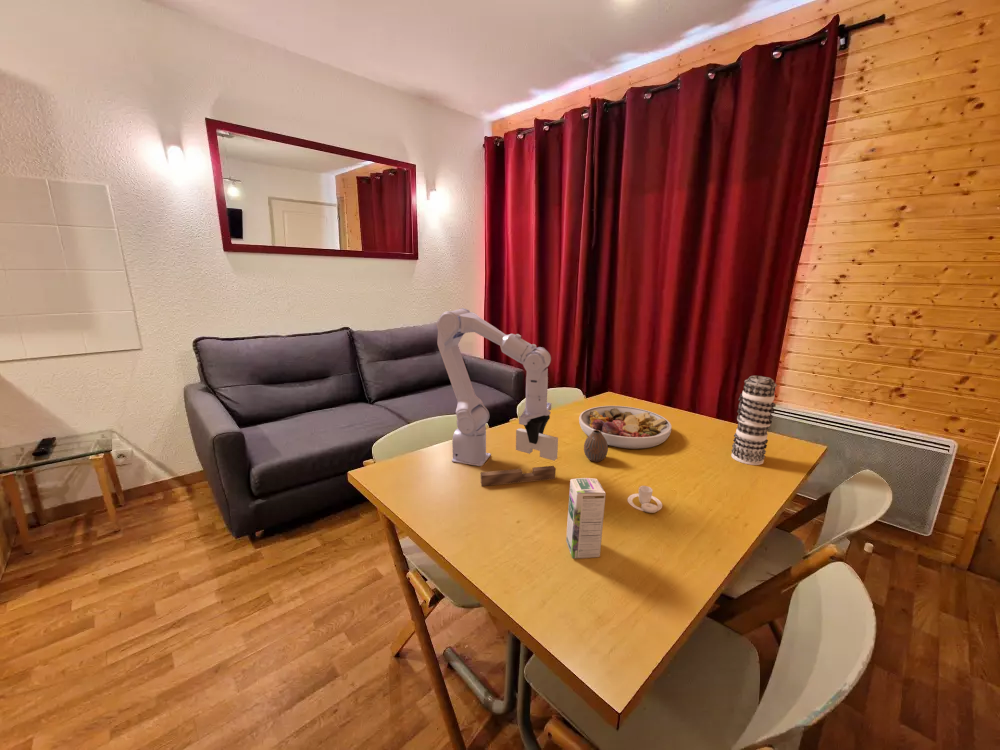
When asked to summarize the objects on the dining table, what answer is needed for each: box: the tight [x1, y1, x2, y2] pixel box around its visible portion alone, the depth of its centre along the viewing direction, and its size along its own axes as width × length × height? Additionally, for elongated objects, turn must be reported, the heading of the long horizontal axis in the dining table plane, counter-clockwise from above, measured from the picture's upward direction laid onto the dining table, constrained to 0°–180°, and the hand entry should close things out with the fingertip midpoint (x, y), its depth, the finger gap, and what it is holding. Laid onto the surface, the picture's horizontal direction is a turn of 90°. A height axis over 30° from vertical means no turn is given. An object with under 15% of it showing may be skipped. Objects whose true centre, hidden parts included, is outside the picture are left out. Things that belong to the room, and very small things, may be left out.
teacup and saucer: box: [627, 485, 663, 514], centre depth 99 cm, size 9×8×4 cm
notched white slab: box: [515, 428, 559, 462], centre depth 113 cm, size 12×2×6 cm, turn 56°
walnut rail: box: [480, 465, 557, 487], centre depth 109 cm, size 20×2×3 cm, turn 101°
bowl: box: [578, 405, 672, 450], centre depth 141 cm, size 30×30×8 cm
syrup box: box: [565, 477, 607, 559], centre depth 82 cm, size 6×6×14 cm
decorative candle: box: [730, 375, 778, 466], centre depth 120 cm, size 9×9×25 cm
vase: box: [583, 430, 609, 463], centre depth 121 cm, size 7×7×9 cm
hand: (535, 441), depth 113 cm, fingers closed on notched white slab, 2 cm apart
